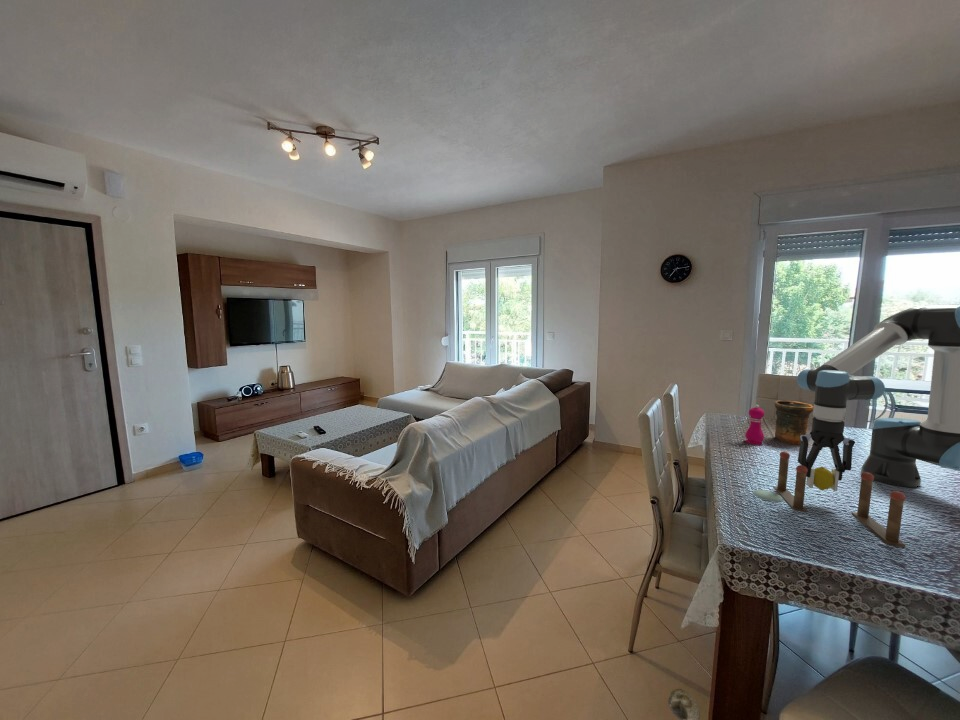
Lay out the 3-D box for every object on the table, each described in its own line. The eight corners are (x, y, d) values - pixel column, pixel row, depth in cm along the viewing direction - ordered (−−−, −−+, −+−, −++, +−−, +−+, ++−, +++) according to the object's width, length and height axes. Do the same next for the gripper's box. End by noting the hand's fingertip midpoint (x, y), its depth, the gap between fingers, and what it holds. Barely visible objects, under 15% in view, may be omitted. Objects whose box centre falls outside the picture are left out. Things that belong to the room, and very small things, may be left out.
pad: (777, 493, 130) (777, 492, 130) (786, 504, 122) (787, 502, 122) (750, 490, 132) (750, 488, 132) (757, 500, 125) (758, 498, 125)
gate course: (842, 497, 127) (847, 456, 125) (904, 547, 99) (911, 495, 98) (773, 488, 133) (776, 449, 132) (813, 532, 106) (818, 483, 104)
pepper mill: (759, 443, 181) (763, 403, 179) (765, 448, 174) (769, 406, 172) (742, 442, 183) (745, 402, 181) (747, 447, 176) (750, 405, 174)
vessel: (812, 450, 171) (817, 408, 169) (773, 445, 179) (777, 404, 176) (806, 442, 183) (810, 402, 181) (769, 437, 191) (773, 399, 188)
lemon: (805, 487, 124) (806, 464, 124) (821, 486, 125) (821, 463, 124) (822, 495, 119) (823, 470, 118) (838, 493, 119) (839, 469, 119)
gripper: (858, 418, 119) (851, 487, 122) (787, 413, 126) (782, 479, 128) (873, 424, 112) (865, 497, 115) (797, 419, 119) (791, 488, 121)
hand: (821, 487), depth 122 cm, fingers closed on lemon, 5 cm apart
